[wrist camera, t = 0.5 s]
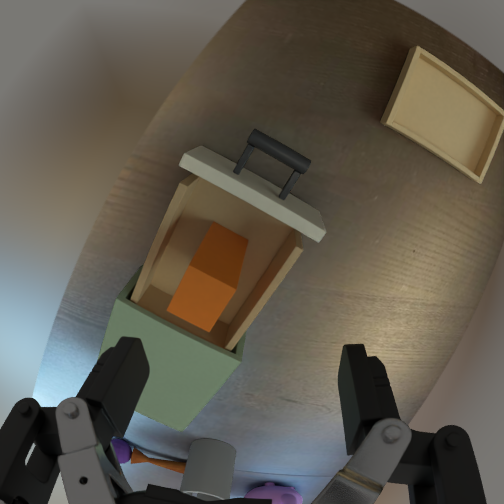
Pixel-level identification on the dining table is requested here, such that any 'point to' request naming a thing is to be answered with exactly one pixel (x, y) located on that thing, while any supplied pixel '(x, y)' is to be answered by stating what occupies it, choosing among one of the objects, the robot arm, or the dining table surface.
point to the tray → (445, 114)
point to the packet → (210, 278)
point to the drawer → (237, 220)
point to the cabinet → (171, 361)
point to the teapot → (276, 494)
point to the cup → (209, 470)
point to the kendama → (142, 457)
